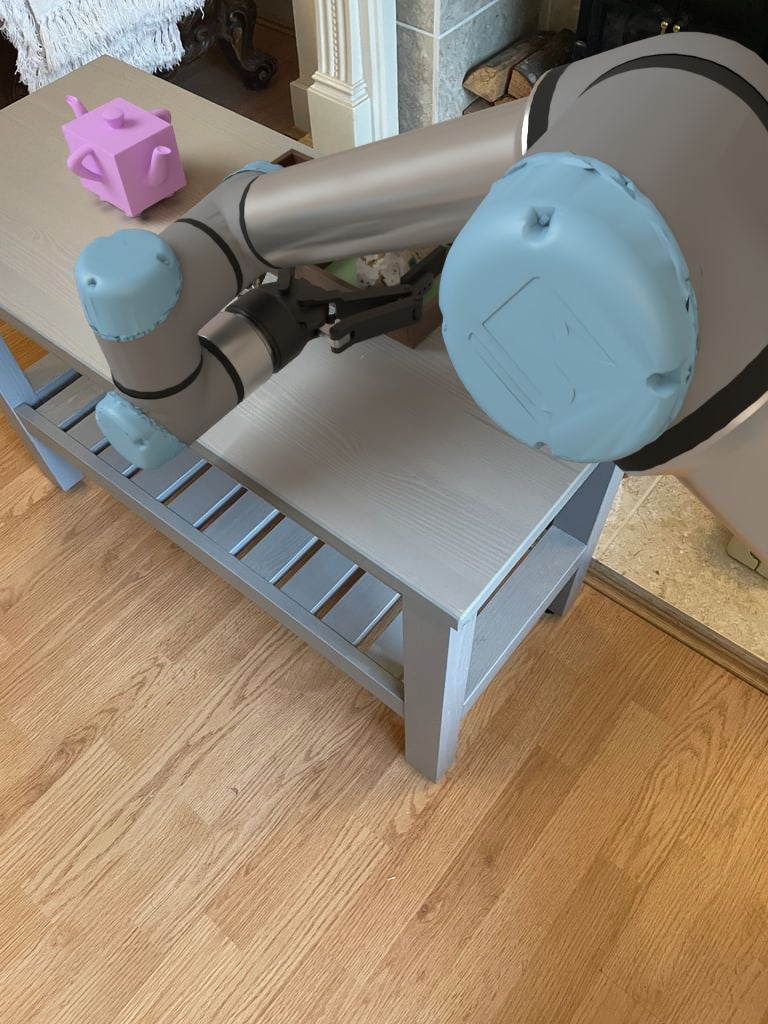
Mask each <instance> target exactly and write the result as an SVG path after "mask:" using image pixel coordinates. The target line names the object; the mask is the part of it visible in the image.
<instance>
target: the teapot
mask: <svg viewBox="0 0 768 1024" xmlns="http://www.w3.org/2000/svg"><path fill="white" fill-rule="evenodd" d="M64 99H65V101H66V103H67V104H68V105H69V106H70V107H71V109H72V111H73V112H74V114H75V116H76V118H74V119H72V120H71V121H69V122H67V123H64V124H62V125H61V130H62V133H63V137H64V139H65V141H66V145H67V147H68V150H69V152H70V155H69V156H68V158H67V160H66V166H67V168H68V170H69V171H70V172H71V173H72V174H74V175H76V176H77V177H78V179H79V181H80V183H81V186H82V187H84V188H85V189H87V190H89V191H90V192H92V193H94V194H95V195H97V196H98V197H99V199H100V200H101V201H103V202H108V203H109V204H111V205H113V206H115V207H117V208H118V209H120V210H121V211H123V212H124V213H125V215H126V217H129V218H136V217H139V216H141V215H142V214H143V211H145V210H146V209H148V208H150V207H152V206H153V205H156V204H157V203H158V202H160V201H161V200H163V199H169V198H171V197H173V196H174V195H175V193H176V192H177V191H178V190H180V189H182V188H184V187H186V186H187V179H186V176H185V171H184V168H183V164H182V163H183V162H182V159H181V154H180V150H179V147H178V143H177V138H176V134H175V130H174V126H173V125H172V124H171V123H172V114H171V112H170V110H168V109H166V108H162V107H161V108H155V109H152V110H149V111H147V110H145V109H143V108H142V107H139V106H138V105H136V104H134V103H132V102H130V101H128V100H125V99H124V98H122V97H120V96H118V97H116V98H114V99H112V100H110V101H108V102H106V103H104V104H102V105H99V106H98V107H96V108H94V109H91V110H90V111H88V110H87V108H86V107H85V106H84V104H83V103H82V102H81V101H80V100H79V99H78V98H77V97H75V96H73V95H65V96H64Z"/></svg>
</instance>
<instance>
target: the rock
mask: <svg viewBox="0 0 768 1024" xmlns="http://www.w3.org/2000/svg"><path fill="white" fill-rule="evenodd" d="M440 245H443V246H445V244H440ZM438 246H439V245H434V246H427V247H421V248H415V249H408V250H402V251H395V252H389V253H382V254H376V255H369V256H363V257H358V259H357V260H356V267H357V270H356V276H357V285H358V288H359V289H361V290H366V289H373V288H381V287H388V286H395V285H400V278H401V277H402V276H403V275H404V274H405V273H407V272H408V271H409V270H410V269H411V268H413V267H414V266H415V265H416V264H417V263H419V262H420V261H421V260H422V259H423V258H425V257H426V256H427V255H428V254H429V253H431V252H432V251H433V250H434V249H435V248H437V247H438ZM398 299H400V297H399V298H398Z"/></svg>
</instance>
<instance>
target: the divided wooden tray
mask: <svg viewBox="0 0 768 1024" xmlns="http://www.w3.org/2000/svg"><path fill="white" fill-rule="evenodd" d="M313 159H316V158H314V157H312V156H310V155H308V154H306V153H303V152H302V151H299V150H296V149H294V148H290V149H288V150H287V151H285V152H284V153H282V154H280V155H279V156H278V157H276V158H275V159H273V160H272V161H269V162H270V163H272V164H274V165H280V166H282V167H284V168H286V167H290V166H293V165H296V164H300V163H303V162H307V161H310V160H313ZM453 243H454V242H453ZM453 243H447V244H445V247H446V258H447V256H448V253H449V251H450V249H451V247H452V245H453ZM357 259H358V257H356V258H350V259H343V260H337V261H331V262H324V263H318V264H311V265H305V266H298V267H296V268H295V278H298V279H300V278H301V277H303V278H304V279H306V280H308V281H309V282H310V283H311V284H312V285H316V286H319V287H321V288H323V289H325V290H326V291H329V290H340V291H341V292H342V293H345V292H352V291H359V290H361V289H359V288H358V285H357V276H356V270H357V267H356V260H357ZM269 274H272V275H273V276H275V277H276V278H278V271H273V272H269ZM441 275H442V273H441V274H439V275H438V276H437V277H436V278H435V279H434V280H433V286H432V289H430V290H429V291H428V292H427V293H425V295H423V296H422V297H423V320H422V321H421V322H419V323H416V324H413V325H410V326H407V327H404V328H401V329H398V330H395V331H392V332H389V333H386V334H384V335H386V336H387V337H389V338H390V339H393V340H394V341H396V342H398V343H400V344H402V345H403V346H406V347H407V348H409V349H411V350H415V349H417V347H418V346H420V344H422V343H423V342H424V341H426V339H427V338H428V337H429V336H430V335H432V334H433V333H434V332H435V331H436V330H437V329H438V328H439V327H441V326H442V324H443V314H442V312H441V309H440V307H439V289H440V281H441ZM398 300H400V299H398ZM329 306H331V307H333V308H335V305H334V303H329Z"/></svg>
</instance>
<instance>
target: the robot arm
mask: <svg viewBox="0 0 768 1024" xmlns="http://www.w3.org/2000/svg"><path fill="white" fill-rule="evenodd" d="M270 162H271V161H269V160H263V159H262V160H261V159H260V160H255V161H251V162H250V163H247V165H245V166H243V167H242V168H241V169H239V170H236V171H235V172H233V173H231V174H229V175H227V176H226V177H225V178H223V179H222V180H221V182H220V183H219V184H218V185H217V187H215V188H214V189H213V190H212V191H210V193H208V194H207V195H206V196H205V197H203V198H202V199H201V200H200V201H198V202H197V203H196V204H195V205H194V206H192V207H191V208H190V209H189V210H188V211H186V212H185V213H184V214H183V215H181V216H180V217H179V218H178V219H176V220H175V221H174V222H172V223H171V224H169V225H168V226H167V227H165V228H164V229H163V230H162V231H161V232H159V233H156V232H153V231H150V230H147V229H141V228H123V229H118V230H115V231H114V232H113V233H112V235H109V236H98V237H96V238H95V239H93V240H92V241H90V242H89V243H87V244H86V245H85V246H84V248H83V249H81V251H80V253H79V254H78V256H77V258H76V261H75V264H74V268H73V274H74V276H73V277H74V281H75V285H76V289H77V293H78V298H79V301H80V303H81V307H82V310H83V313H84V317H85V319H86V322H87V323H88V326H89V327H90V328H91V330H92V332H93V334H94V337H95V338H96V339H95V340H96V341H97V343H98V346H99V347H100V350H101V352H102V354H103V357H104V358H105V360H106V362H107V364H108V368H109V371H110V374H111V375H110V376H111V381H112V383H113V386H114V388H115V389H113V390H109V391H107V393H106V395H105V396H104V398H102V399H101V400H100V401H98V403H97V404H96V406H95V413H94V416H95V421H96V423H97V426H98V427H99V429H100V431H101V433H102V434H103V435H104V437H105V438H106V439H107V441H108V442H109V444H110V445H111V446H112V447H113V448H114V449H115V450H116V451H117V452H118V453H119V455H120V456H122V457H123V458H124V459H125V460H127V461H128V462H129V463H131V464H132V465H133V466H135V467H136V468H138V469H141V470H145V471H155V470H158V469H160V468H162V467H163V466H164V465H166V464H167V463H169V462H170V461H172V460H173V459H174V458H176V457H177V456H179V455H180V454H181V453H183V452H185V451H188V450H189V449H190V446H192V445H193V444H194V443H196V441H197V440H199V439H200V438H201V437H202V436H204V435H205V434H206V433H207V432H208V431H209V430H211V429H212V428H213V427H214V426H215V425H217V424H218V423H219V422H220V421H221V420H223V418H225V417H226V416H227V415H228V414H230V413H231V412H232V411H233V410H235V409H236V408H237V406H238V405H240V404H241V403H243V402H244V401H245V400H246V399H247V398H249V397H250V396H251V395H252V394H254V393H255V392H256V391H257V390H259V388H261V387H262V386H263V385H264V384H266V383H267V382H268V381H269V380H270V379H271V378H272V376H273V375H275V374H278V373H279V372H281V371H282V370H283V369H284V368H285V367H286V366H288V365H290V363H292V362H293V361H294V360H295V359H296V358H298V356H300V355H301V353H302V352H303V350H304V348H305V347H306V346H307V344H308V343H309V342H311V341H313V340H315V339H319V338H321V339H323V340H324V341H326V342H327V343H328V344H330V351H331V353H332V354H335V355H340V354H342V353H343V352H345V351H347V350H348V349H349V348H351V347H352V346H353V345H355V344H359V343H361V342H364V341H367V340H370V339H373V338H376V337H380V336H383V335H385V334H386V333H389V332H392V331H395V330H398V329H401V328H404V327H407V326H410V325H413V324H416V323H419V322H421V321H422V320H423V297H422V296H423V295H425V293H427V292H428V291H429V290H430V289H432V286H433V280H434V279H435V278H436V277H437V276H438V275H439V274H441V273H442V275H441V281H440V289H439V307H440V309H441V312H442V314H443V323H442V324H441V334H442V338H443V341H444V345H445V348H446V351H447V354H448V356H449V357H448V358H449V360H450V361H451V364H452V366H453V368H454V370H455V373H456V374H457V376H458V378H459V379H460V382H461V383H462V385H463V386H464V388H465V389H466V390H467V392H468V393H469V395H470V396H471V397H472V399H473V400H474V402H475V404H477V405H478V407H479V408H480V409H481V410H482V411H483V412H484V414H486V415H487V416H488V418H490V419H491V420H492V422H494V423H495V424H496V425H497V426H498V427H499V428H501V429H502V430H503V431H504V432H505V433H506V434H508V435H510V436H511V437H513V438H514V440H516V441H518V442H519V443H522V444H523V445H525V446H527V447H529V448H531V449H534V450H540V449H541V448H543V446H548V448H549V449H550V450H551V453H552V456H553V457H554V458H555V459H558V460H561V461H566V462H572V463H579V464H602V463H608V462H609V463H610V462H612V463H613V464H614V465H615V466H616V467H617V468H619V470H621V472H623V473H624V474H626V475H628V476H633V477H653V476H654V477H655V476H673V477H674V478H675V479H676V480H677V481H678V482H679V483H680V484H681V485H682V486H683V487H684V488H685V489H686V490H688V491H689V492H690V494H692V495H693V497H694V498H696V499H697V500H698V501H699V502H700V504H702V505H703V506H704V507H705V508H706V509H707V510H708V511H709V512H710V513H711V514H712V515H713V516H714V517H715V518H716V519H717V520H718V521H719V522H720V523H721V524H722V525H723V526H724V527H725V528H726V529H728V530H729V531H730V533H732V534H733V536H735V538H737V539H738V541H740V543H742V544H743V545H744V546H745V547H746V548H747V549H748V550H749V551H750V553H752V554H753V555H754V556H755V557H756V558H757V559H758V560H759V561H760V562H761V563H762V564H763V565H764V566H765V567H766V568H767V569H768V64H767V63H766V62H765V61H764V59H762V58H761V57H760V56H759V55H758V54H757V53H756V52H755V51H753V50H751V49H750V48H748V47H745V46H744V45H743V44H740V43H739V42H737V41H735V40H733V39H728V38H726V37H723V36H719V35H717V34H712V33H706V32H699V31H678V32H670V33H663V34H659V35H655V36H651V37H647V38H644V39H641V40H637V41H633V42H631V43H627V44H624V45H621V46H618V47H614V48H612V49H609V50H605V51H603V52H600V53H597V54H594V55H592V56H589V57H585V58H582V59H580V60H576V61H572V62H569V63H566V64H562V65H559V66H556V67H554V68H551V69H549V70H546V71H545V72H544V73H543V74H542V75H540V77H539V78H538V79H537V80H536V81H535V83H534V85H533V87H532V89H531V91H530V93H529V95H528V96H524V97H521V98H518V99H514V100H511V101H507V102H504V103H501V104H498V105H494V106H491V107H487V108H484V109H479V110H477V111H474V112H471V113H467V114H463V115H460V116H457V117H456V116H455V117H453V118H449V119H446V120H443V121H440V122H436V123H433V124H429V125H425V126H422V127H419V128H416V129H412V130H409V131H406V132H403V133H399V134H395V135H391V136H388V137H385V138H382V139H378V140H375V141H372V142H371V141H370V142H368V143H365V144H361V145H358V146H354V147H351V148H347V149H345V150H341V151H337V152H334V153H331V154H327V155H324V156H320V157H316V158H315V159H313V160H310V161H307V162H303V163H300V164H296V165H293V166H290V167H286V168H284V167H282V166H280V165H274V164H272V163H270ZM453 242H454V243H453ZM447 243H453V245H452V247H451V249H450V251H449V253H448V256H447V258H446V247H445V246H443V245H440V244H447ZM434 245H439V246H438V247H437V248H435V249H434V250H433V251H432V252H431V253H429V254H428V255H427V256H426V257H425V258H423V259H422V260H421V261H420V262H419V263H417V264H416V265H415V266H414V267H413V268H411V269H410V270H409V271H408V272H407V273H405V274H404V275H403V276H402V277H401V278H400V285H395V286H388V287H381V288H373V289H366V290H359V291H352V292H345V293H342V292H341V291H340V290H329V291H326V290H325V289H323V288H321V287H319V286H316V285H312V284H311V283H310V282H309V281H308V280H306V279H304V278H303V277H301V278H300V279H298V278H295V268H296V267H298V266H305V265H311V264H318V263H324V262H331V261H337V260H343V259H350V258H356V257H363V256H369V255H376V254H382V253H389V252H395V251H402V250H408V249H415V248H421V247H427V246H434ZM273 271H278V277H277V279H276V280H275V281H270V282H267V283H266V282H265V283H264V280H265V278H266V276H267V274H268V273H270V272H273ZM399 297H400V300H398V298H399ZM233 300H234V301H233ZM232 301H233V302H232ZM329 303H334V305H335V307H334V313H330V308H331V307H330V305H329ZM222 310H223V311H222Z"/></svg>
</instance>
